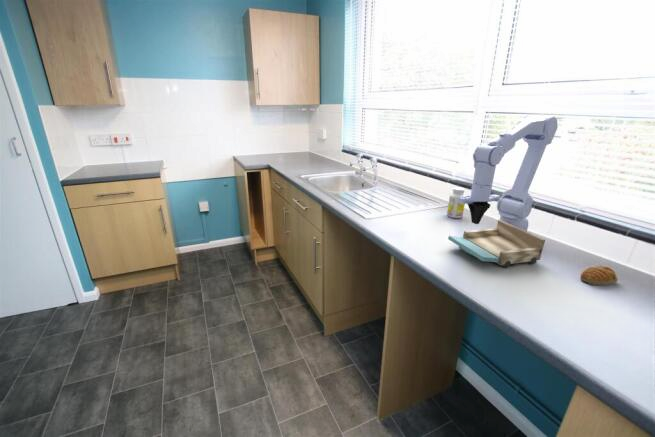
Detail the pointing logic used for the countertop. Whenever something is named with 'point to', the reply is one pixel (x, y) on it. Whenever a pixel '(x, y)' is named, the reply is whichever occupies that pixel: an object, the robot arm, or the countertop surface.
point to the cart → (508, 243)
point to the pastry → (599, 275)
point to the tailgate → (473, 249)
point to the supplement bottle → (456, 203)
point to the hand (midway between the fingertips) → (475, 222)
